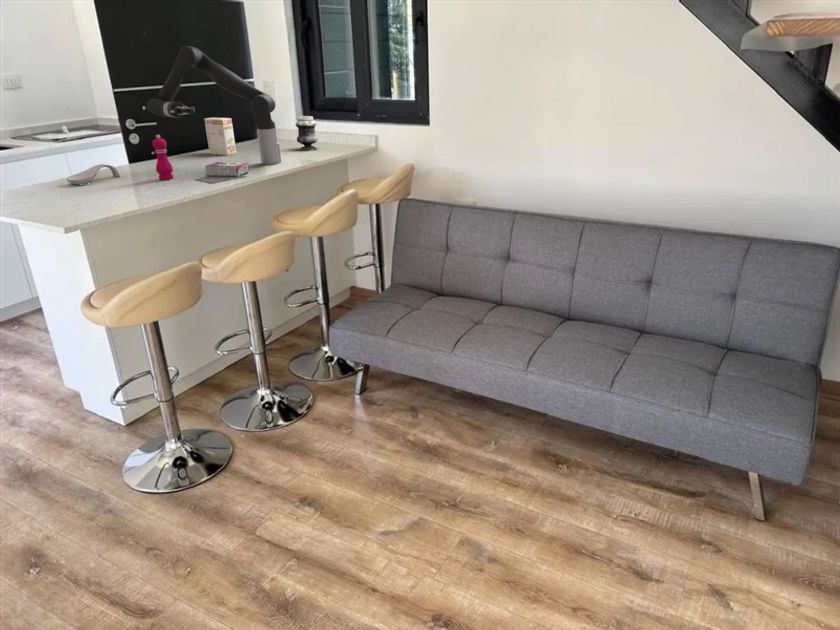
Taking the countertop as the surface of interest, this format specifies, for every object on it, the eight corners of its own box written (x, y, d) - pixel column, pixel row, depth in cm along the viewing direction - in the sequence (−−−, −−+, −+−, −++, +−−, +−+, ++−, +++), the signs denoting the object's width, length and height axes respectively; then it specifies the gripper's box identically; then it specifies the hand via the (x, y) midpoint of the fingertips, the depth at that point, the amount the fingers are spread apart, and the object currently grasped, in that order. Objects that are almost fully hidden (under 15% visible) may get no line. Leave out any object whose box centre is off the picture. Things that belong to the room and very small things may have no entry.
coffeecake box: (237, 153, 349) (231, 117, 341) (227, 155, 343) (221, 119, 335) (219, 152, 356) (213, 117, 348) (209, 154, 351) (203, 118, 343)
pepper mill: (178, 177, 289) (169, 133, 281) (167, 180, 283) (158, 135, 274) (165, 177, 291) (156, 133, 283) (154, 180, 285) (145, 135, 277)
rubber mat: (230, 173, 295) (229, 172, 294) (246, 176, 286) (246, 176, 286) (195, 179, 283) (195, 179, 283) (211, 183, 274) (211, 182, 274)
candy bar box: (216, 161, 296) (247, 161, 293) (218, 171, 298) (249, 172, 295) (204, 165, 286) (236, 165, 283) (206, 176, 288) (238, 176, 285)
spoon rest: (78, 188, 275) (73, 172, 272) (62, 185, 281) (58, 170, 278) (125, 178, 293) (121, 162, 290) (109, 176, 299) (106, 161, 296)
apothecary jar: (316, 150, 351) (313, 117, 344) (295, 151, 351) (292, 118, 344) (320, 147, 362) (317, 115, 355) (299, 147, 362) (296, 115, 355)
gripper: (159, 102, 297) (177, 104, 287) (185, 100, 306) (203, 101, 295) (162, 118, 301) (180, 120, 290) (188, 116, 309) (205, 117, 298)
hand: (191, 111), depth 293 cm, fingers closed
